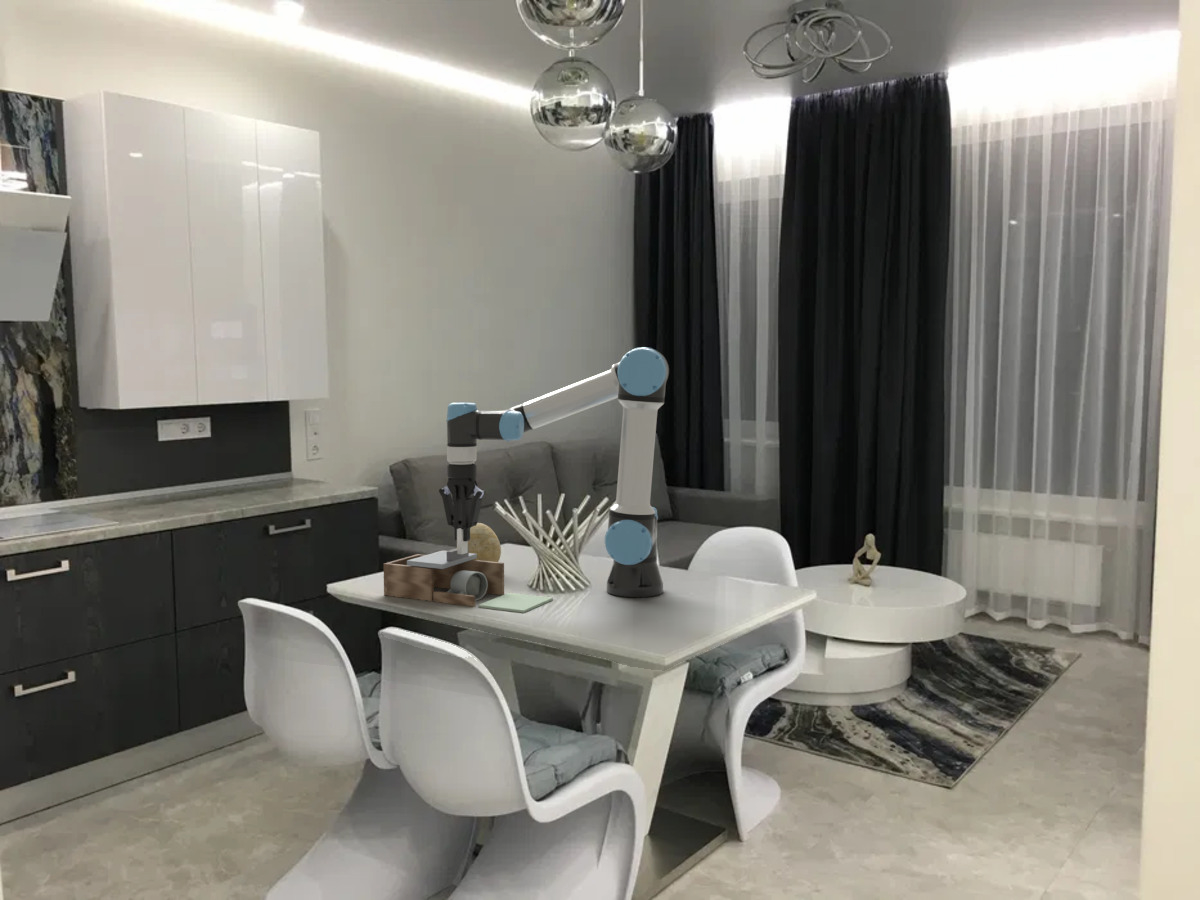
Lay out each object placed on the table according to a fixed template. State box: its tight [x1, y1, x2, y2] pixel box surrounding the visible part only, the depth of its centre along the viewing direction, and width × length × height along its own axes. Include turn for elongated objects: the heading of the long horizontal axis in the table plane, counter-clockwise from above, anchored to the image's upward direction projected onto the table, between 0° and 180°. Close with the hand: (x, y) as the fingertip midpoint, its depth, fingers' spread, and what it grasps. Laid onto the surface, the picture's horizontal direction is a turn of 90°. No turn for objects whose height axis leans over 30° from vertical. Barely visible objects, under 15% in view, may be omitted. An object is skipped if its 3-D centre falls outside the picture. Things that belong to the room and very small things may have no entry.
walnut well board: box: [383, 553, 505, 607], centre depth 262 cm, size 28×15×8 cm, turn 65°
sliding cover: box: [407, 547, 477, 569], centre depth 261 cm, size 11×16×4 cm
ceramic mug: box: [446, 570, 488, 602], centre depth 258 cm, size 10×8×7 cm
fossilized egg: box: [455, 522, 502, 562], centre depth 287 cm, size 13×13×15 cm
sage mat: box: [477, 592, 554, 614], centre depth 253 cm, size 13×15×1 cm
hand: (462, 553), depth 259 cm, fingers closed
